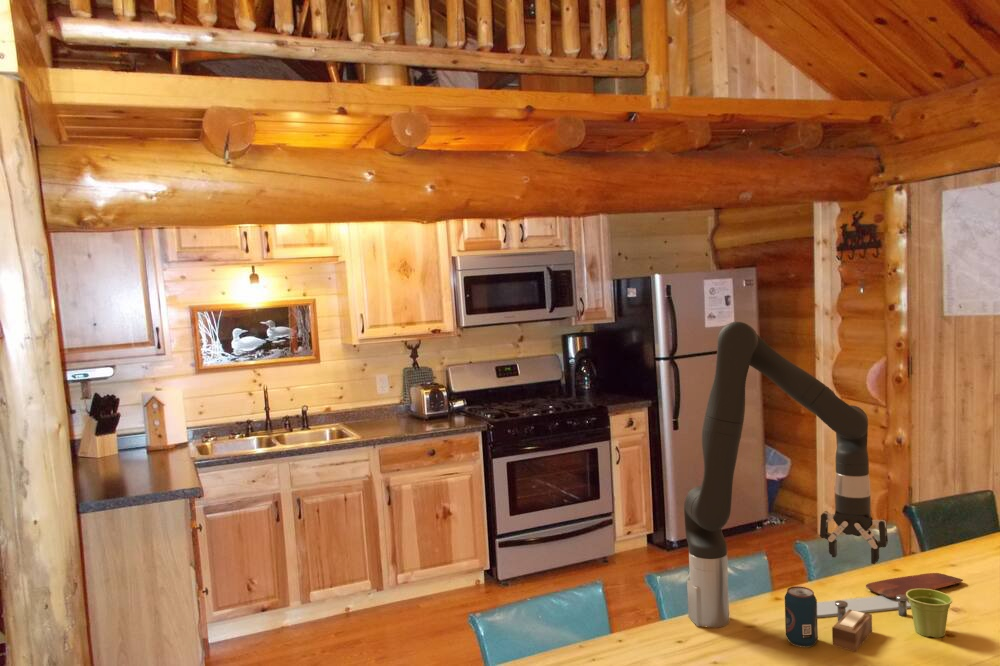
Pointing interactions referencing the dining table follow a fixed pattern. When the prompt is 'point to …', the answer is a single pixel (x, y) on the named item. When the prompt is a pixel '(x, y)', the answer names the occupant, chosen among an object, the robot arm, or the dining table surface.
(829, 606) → the wall strip
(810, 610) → the soda can
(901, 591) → the brown flat slab
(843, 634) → the wooden box
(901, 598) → the metal bolt
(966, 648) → the dining table surface
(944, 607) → the plant pot
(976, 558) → the dining table surface
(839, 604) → the metal screw
